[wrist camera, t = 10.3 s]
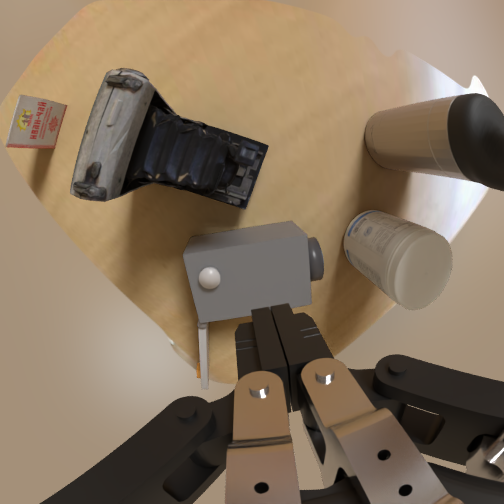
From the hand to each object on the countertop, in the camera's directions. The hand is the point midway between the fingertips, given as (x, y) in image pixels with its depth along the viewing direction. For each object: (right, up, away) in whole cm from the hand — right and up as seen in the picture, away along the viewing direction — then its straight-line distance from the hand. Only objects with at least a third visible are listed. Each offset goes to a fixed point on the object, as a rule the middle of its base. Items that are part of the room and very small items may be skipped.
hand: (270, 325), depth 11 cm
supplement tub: (+17, +5, +29) cm, 34 cm away
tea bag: (-31, +22, +18) cm, 42 cm away
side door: (-8, -10, +31) cm, 33 cm away
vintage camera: (-8, +15, +23) cm, 29 cm away
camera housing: (0, +2, +28) cm, 28 cm away
